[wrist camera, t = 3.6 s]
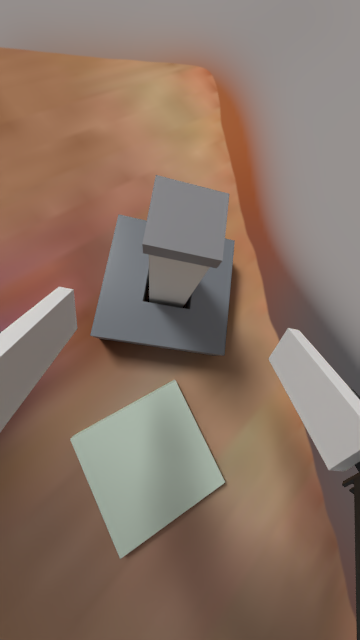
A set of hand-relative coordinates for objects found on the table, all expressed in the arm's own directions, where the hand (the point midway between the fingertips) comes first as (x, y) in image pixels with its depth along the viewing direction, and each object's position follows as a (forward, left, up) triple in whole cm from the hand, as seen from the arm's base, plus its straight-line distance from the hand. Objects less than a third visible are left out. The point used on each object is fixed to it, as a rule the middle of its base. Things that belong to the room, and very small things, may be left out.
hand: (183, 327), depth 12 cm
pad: (+10, -7, -12) cm, 17 cm away
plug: (-6, +3, -12) cm, 14 cm away
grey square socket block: (-6, +3, -12) cm, 14 cm away
